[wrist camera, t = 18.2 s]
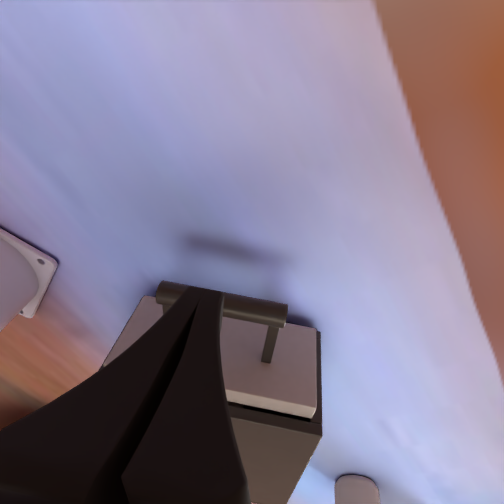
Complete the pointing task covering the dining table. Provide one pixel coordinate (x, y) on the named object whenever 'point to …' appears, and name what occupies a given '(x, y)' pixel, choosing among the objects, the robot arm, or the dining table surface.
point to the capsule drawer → (247, 351)
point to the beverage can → (356, 490)
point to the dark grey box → (275, 445)
